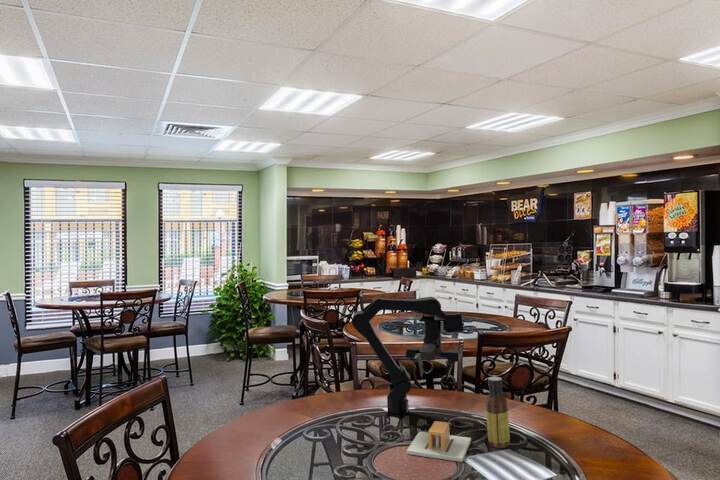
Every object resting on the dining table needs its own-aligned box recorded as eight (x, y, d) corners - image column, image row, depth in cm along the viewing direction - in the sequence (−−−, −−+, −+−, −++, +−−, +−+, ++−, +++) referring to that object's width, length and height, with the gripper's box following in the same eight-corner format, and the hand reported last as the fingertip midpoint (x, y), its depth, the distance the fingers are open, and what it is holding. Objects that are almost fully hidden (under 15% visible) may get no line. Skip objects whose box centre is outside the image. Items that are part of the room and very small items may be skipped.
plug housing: (443, 451, 145) (443, 433, 145) (428, 448, 147) (428, 431, 146) (449, 439, 152) (449, 422, 152) (435, 437, 154) (434, 421, 154)
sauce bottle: (510, 441, 152) (508, 375, 151) (509, 450, 146) (507, 382, 145) (487, 439, 154) (486, 374, 153) (486, 448, 148) (484, 380, 147)
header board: (406, 453, 146) (406, 436, 146) (419, 434, 159) (419, 418, 159) (462, 462, 140) (461, 444, 140) (471, 441, 153) (470, 424, 153)
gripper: (399, 337, 172) (400, 382, 173) (454, 340, 165) (455, 388, 166) (409, 330, 183) (410, 373, 183) (461, 333, 175) (462, 378, 176)
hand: (433, 378), depth 177 cm, fingers open, 9 cm apart
